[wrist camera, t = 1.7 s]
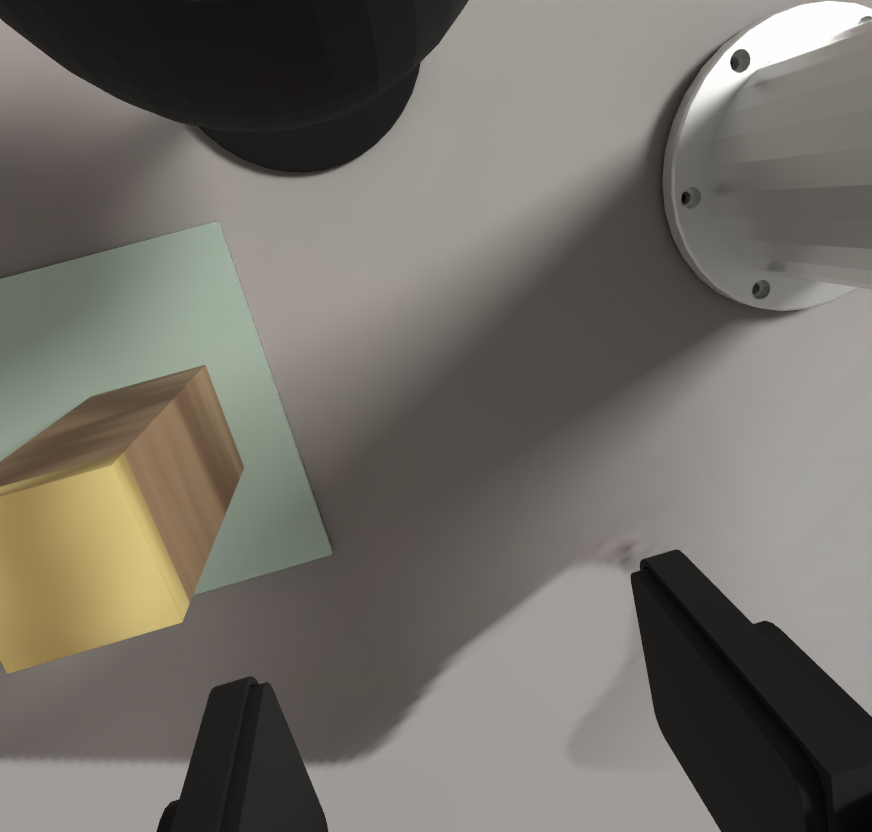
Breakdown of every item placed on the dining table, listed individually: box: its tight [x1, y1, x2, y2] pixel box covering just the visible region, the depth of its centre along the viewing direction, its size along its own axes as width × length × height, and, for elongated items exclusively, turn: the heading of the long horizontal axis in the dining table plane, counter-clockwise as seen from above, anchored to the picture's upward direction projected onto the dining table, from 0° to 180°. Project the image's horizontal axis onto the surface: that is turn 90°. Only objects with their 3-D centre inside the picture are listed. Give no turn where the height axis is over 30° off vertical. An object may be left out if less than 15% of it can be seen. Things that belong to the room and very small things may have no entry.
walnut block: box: [0, 365, 244, 674], centre depth 24 cm, size 5×5×12 cm
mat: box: [0, 221, 333, 595], centre depth 29 cm, size 20×16×1 cm
